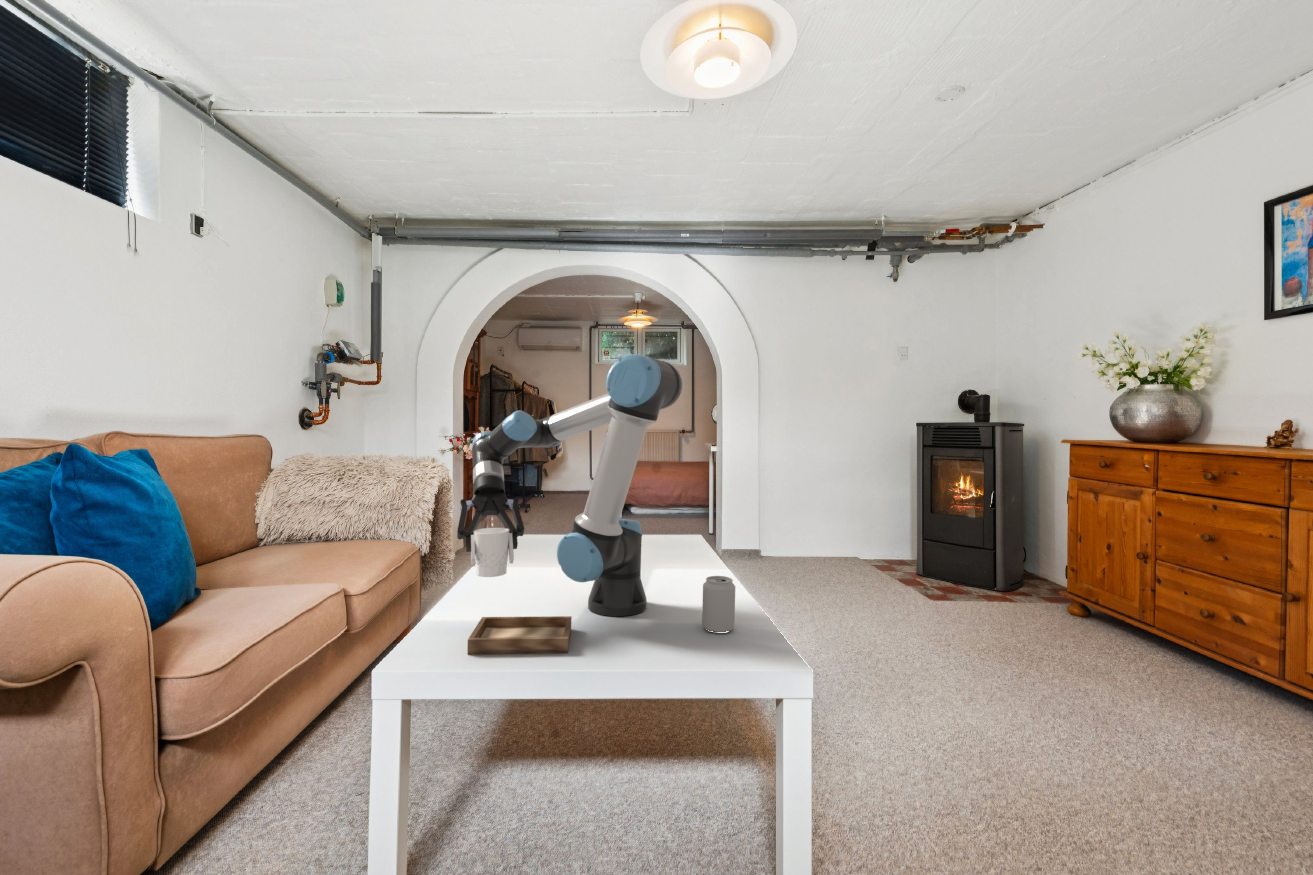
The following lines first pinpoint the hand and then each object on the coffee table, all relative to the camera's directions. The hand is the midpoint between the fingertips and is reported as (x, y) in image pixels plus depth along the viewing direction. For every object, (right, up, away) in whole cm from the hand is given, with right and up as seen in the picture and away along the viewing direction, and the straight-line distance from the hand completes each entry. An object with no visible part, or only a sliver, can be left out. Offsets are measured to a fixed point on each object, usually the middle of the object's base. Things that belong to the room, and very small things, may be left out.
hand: (492, 561), depth 128 cm
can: (+51, -17, +5) cm, 54 cm away
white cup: (-1, -4, +3) cm, 5 cm away
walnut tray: (+8, -16, -5) cm, 19 cm away
